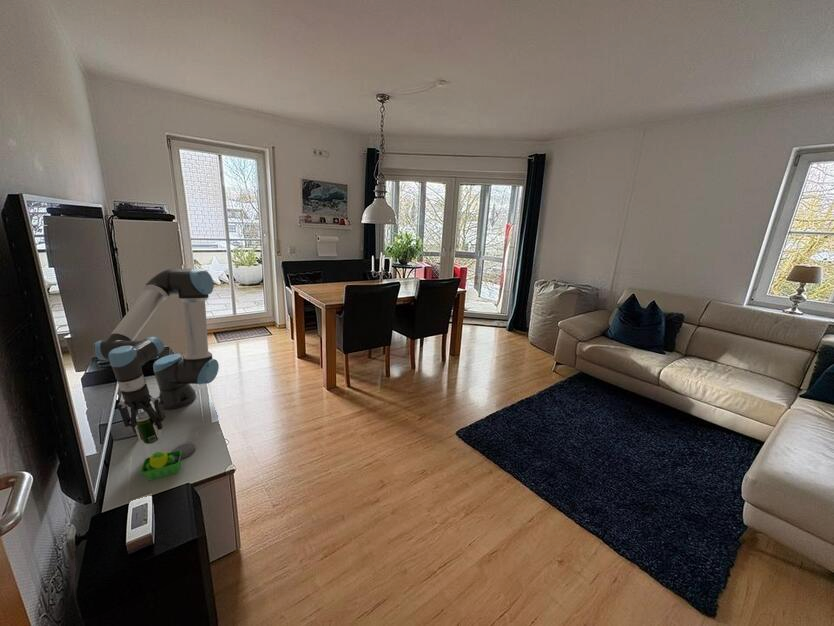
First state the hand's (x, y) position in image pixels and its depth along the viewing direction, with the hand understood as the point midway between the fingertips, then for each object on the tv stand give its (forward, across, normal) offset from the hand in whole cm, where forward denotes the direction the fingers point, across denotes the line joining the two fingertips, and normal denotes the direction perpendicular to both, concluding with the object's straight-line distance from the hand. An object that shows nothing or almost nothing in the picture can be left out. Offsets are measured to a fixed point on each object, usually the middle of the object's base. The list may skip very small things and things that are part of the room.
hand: (151, 437), depth 136 cm
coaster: (+7, +11, -4) cm, 13 cm away
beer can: (+1, 0, 0) cm, 1 cm away
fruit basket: (+7, +8, -13) cm, 17 cm away
